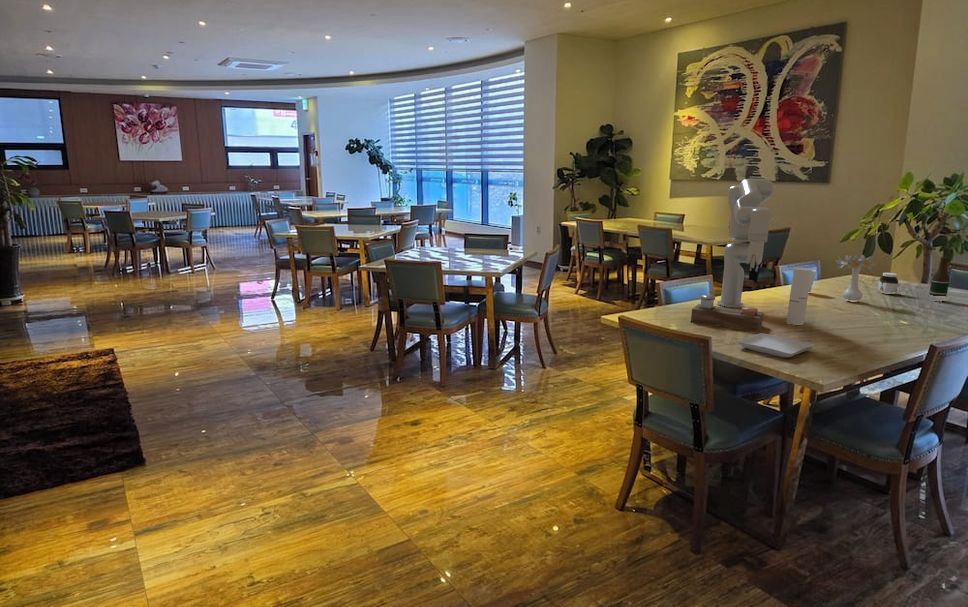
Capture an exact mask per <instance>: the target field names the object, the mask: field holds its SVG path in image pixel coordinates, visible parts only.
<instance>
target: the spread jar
mask: <svg viewBox="0 0 968 607" xmlns="http://www.w3.org/2000/svg"><path fill="white" fill-rule="evenodd" d="M898 289H899V290H898ZM878 290H880V291H884V292H896V293H897V292H898V291H899V293H900V292H903V293H904V291H903V287H902V283H901V282H900V283H899V280H898V274H897V273H894V272H882V276H881V277H879V280H878V286H877V291H878Z"/></svg>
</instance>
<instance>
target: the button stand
mask: <svg viewBox="0 0 968 607" xmlns="http://www.w3.org/2000/svg"><path fill="white" fill-rule="evenodd" d="M700 305H701V303H698V304H696V305H695V306H694V307H693V308H691V316H690V322H691V321H692V322H691V323H696V322H698V323H699V324H703V325H704V324H705V325H710V324H711V326H716V325H719V326H718V327H723V326H726V327H725V328H730V327H732V328H731V329H737V330H743V329H744V330H745V331H752V332H757V331H758V332H759V330H760V329H761V327H762V326H763V319H764V312H761V311H757V312H756V314H755V316H752V315H745V314H743V311H742V309H741V308H739V309H738V308H731V307H724V306H715V305H713V309H712V310H708V309H700ZM698 323H697V324H698Z"/></svg>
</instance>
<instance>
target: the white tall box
mask: <svg viewBox="0 0 968 607" xmlns="http://www.w3.org/2000/svg"><path fill="white" fill-rule="evenodd" d="M812 270H813V269H812ZM812 270H811V268H805V267H793V271H792V277H791V278H792V279H791V286H790V292H789V299H788V307H787V315H786V316H787V317H786V322H787V323H788V324H787V323H786V324H787V325H789V324H793V325H792V326H794V325H802V324H804V325H805V319H806V312H807V305H808V299H809V294H808V292H809V285H810V278H811V271H812Z"/></svg>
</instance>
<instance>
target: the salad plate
mask: <svg viewBox="0 0 968 607" xmlns="http://www.w3.org/2000/svg"><path fill="white" fill-rule="evenodd" d="M736 341H737V340H736ZM737 344H738V345H740V346H741V347H743V348H745V349H748V350H750V351H753V352H758V353H761V354H766V355H770V356H774V357H779V358H783V359H787V358H791V357H793V356H796V355H798V354H801V353H803V352H807V351H809V350H811V349H812V348H814V347H815V344H814V343H813V344H812V343H809V342H805V341H802V340H797V339H792V338H789V337H788V338H787V337H783V336H779V335H773V334H769V333H768V334H767V333H761V332H760V333H757V334H754V335H752V336H747V337H745V338H743V339H738V341H737Z"/></svg>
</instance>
